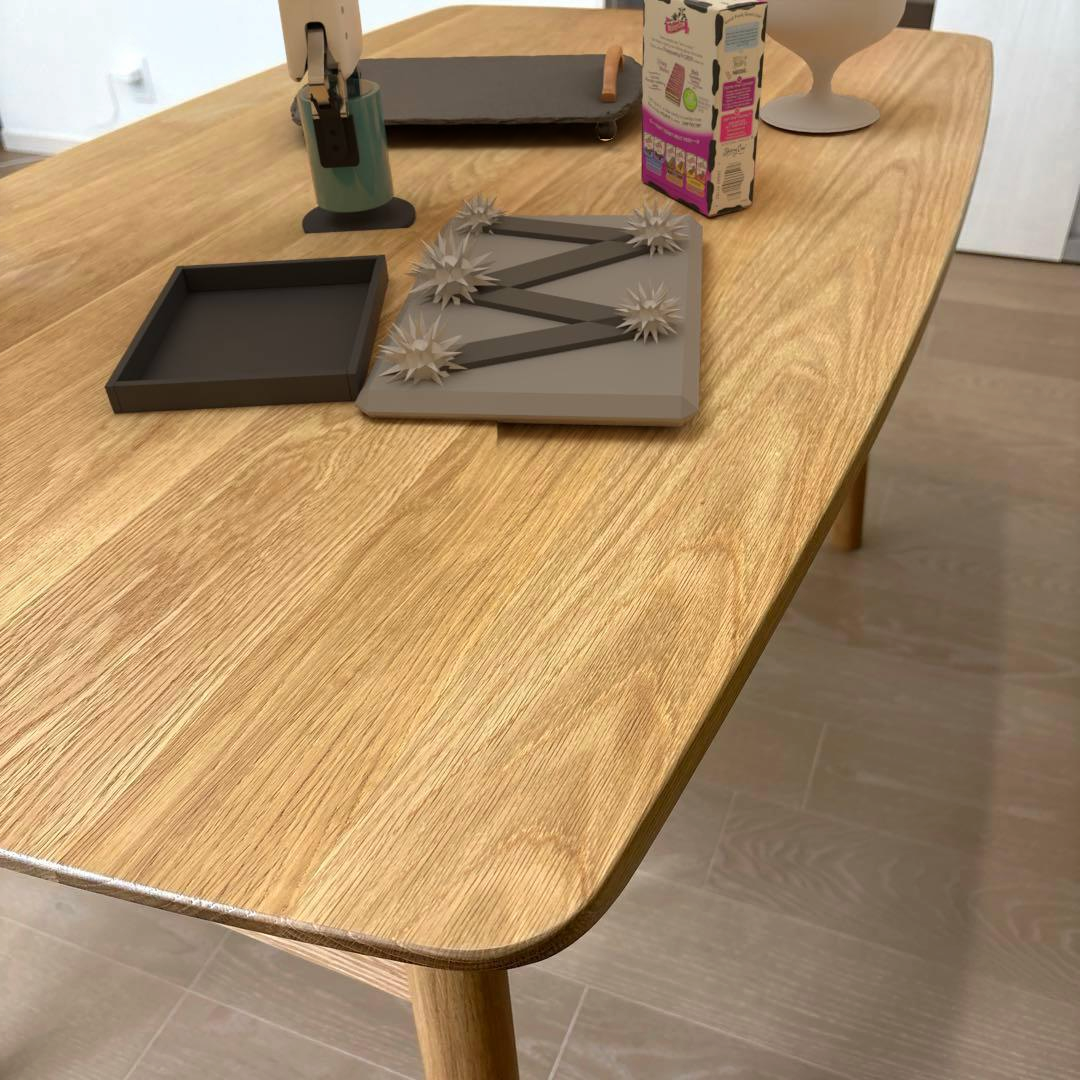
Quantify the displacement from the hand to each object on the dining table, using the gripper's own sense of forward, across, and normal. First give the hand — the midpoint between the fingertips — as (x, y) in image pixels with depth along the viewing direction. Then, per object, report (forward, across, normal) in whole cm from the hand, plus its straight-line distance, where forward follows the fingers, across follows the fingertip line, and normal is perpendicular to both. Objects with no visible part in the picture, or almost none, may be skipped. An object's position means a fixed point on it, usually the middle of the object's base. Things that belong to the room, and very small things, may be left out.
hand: (346, 148), depth 91 cm
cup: (+4, 0, 0) cm, 4 cm away
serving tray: (+7, -29, +9) cm, 31 cm away
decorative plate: (+7, +21, +17) cm, 28 cm away
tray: (+6, +23, -4) cm, 24 cm away
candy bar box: (+7, -2, +30) cm, 31 cm away
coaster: (+6, 0, 0) cm, 6 cm away
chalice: (+7, -21, +45) cm, 50 cm away
